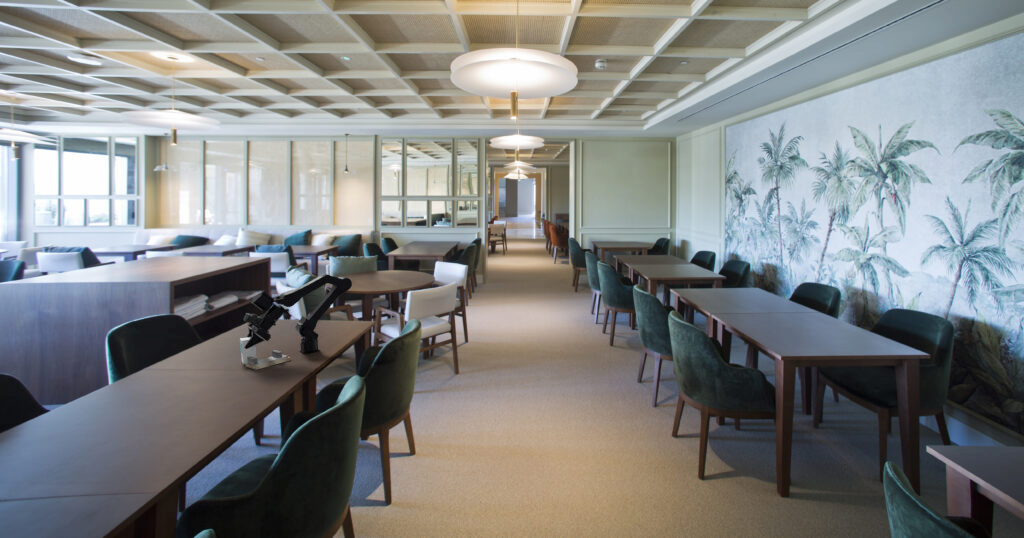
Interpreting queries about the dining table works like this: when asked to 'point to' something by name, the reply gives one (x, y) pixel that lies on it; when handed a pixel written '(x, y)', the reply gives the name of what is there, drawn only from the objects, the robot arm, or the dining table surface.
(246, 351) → the block
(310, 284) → the robot arm
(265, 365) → the rail board
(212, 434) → the dining table surface
